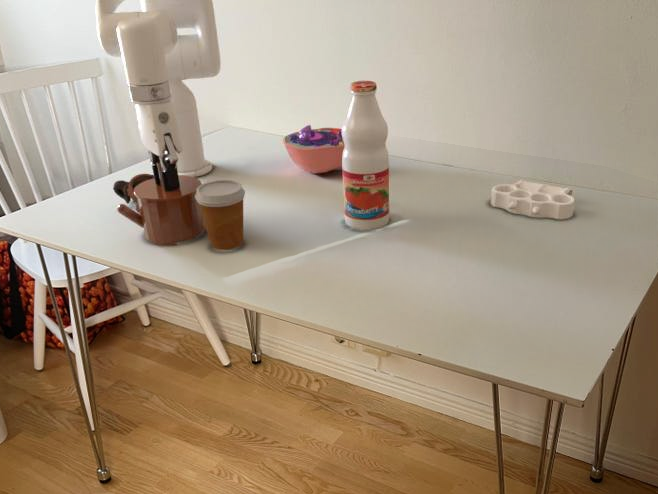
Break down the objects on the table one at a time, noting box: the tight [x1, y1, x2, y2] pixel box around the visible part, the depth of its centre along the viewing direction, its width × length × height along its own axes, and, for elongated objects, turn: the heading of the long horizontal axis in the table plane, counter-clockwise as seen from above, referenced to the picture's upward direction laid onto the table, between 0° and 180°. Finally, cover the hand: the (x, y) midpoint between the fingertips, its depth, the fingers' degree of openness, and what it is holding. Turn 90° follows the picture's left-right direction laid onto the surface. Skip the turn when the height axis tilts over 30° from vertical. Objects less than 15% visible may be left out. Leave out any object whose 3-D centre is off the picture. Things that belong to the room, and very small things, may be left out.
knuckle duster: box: [490, 179, 576, 221], centre depth 152 cm, size 3×18×15 cm
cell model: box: [282, 124, 344, 175], centre depth 173 cm, size 17×20×11 cm
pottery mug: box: [112, 173, 154, 213], centre depth 159 cm, size 12×10×8 cm
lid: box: [134, 160, 203, 201], centre depth 141 cm, size 13×13×6 cm
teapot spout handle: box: [116, 203, 144, 229], centre depth 145 cm, size 21×2×6 cm, turn 105°
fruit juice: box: [341, 80, 390, 231], centre depth 141 cm, size 9×9×28 cm
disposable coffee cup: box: [195, 179, 246, 251], centre depth 138 cm, size 10×10×12 cm
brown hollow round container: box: [137, 193, 207, 246], centre depth 145 cm, size 13×13×10 cm
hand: (167, 185), depth 142 cm, fingers open, 3 cm apart
